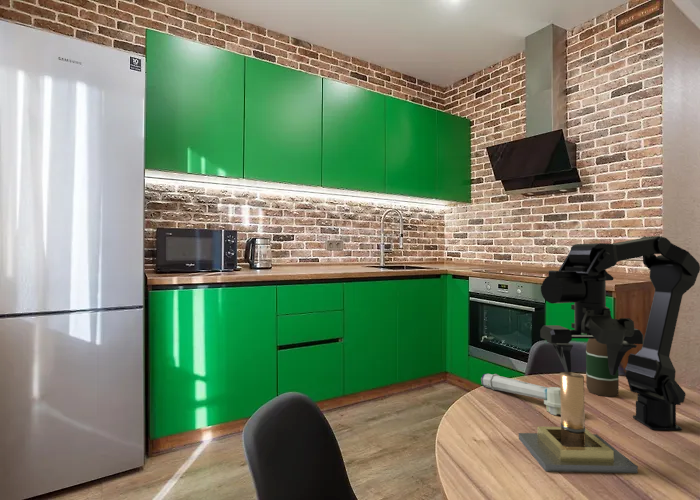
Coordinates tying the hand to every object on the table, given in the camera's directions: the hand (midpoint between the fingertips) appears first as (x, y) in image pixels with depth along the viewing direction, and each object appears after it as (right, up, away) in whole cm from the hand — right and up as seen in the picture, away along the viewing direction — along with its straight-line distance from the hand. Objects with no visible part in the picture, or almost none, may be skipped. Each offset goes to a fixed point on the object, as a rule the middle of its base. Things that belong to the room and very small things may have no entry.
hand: (590, 374), depth 82 cm
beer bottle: (+19, -13, +25) cm, 34 cm away
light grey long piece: (-5, -14, +20) cm, 25 cm away
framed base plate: (-8, -13, -8) cm, 17 cm away
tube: (-8, -12, -8) cm, 16 cm away
